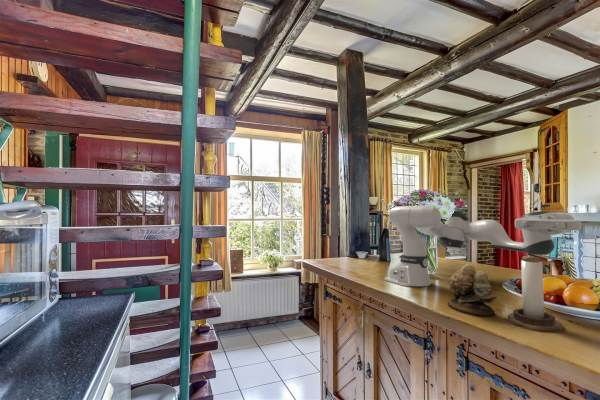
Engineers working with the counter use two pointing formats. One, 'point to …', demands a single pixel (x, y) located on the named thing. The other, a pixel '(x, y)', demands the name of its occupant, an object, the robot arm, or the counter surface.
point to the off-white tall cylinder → (532, 287)
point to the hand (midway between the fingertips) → (539, 225)
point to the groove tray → (537, 328)
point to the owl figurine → (471, 292)
